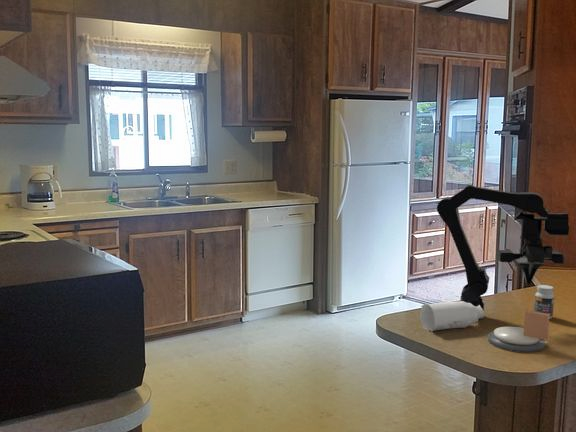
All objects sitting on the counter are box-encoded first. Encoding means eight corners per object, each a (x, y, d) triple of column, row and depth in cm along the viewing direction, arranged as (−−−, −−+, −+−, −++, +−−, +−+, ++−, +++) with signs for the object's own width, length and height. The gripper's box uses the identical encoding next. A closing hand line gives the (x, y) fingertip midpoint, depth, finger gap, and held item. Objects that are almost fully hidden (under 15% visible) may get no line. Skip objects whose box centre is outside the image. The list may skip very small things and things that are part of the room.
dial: (488, 339, 170) (490, 311, 169) (500, 328, 180) (502, 301, 178) (542, 349, 162) (544, 320, 161) (551, 337, 172) (553, 309, 171)
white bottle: (488, 329, 184) (489, 303, 182) (432, 334, 178) (434, 308, 177) (472, 321, 191) (474, 296, 190) (419, 326, 185) (420, 300, 184)
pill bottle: (532, 318, 194) (534, 287, 193) (534, 313, 200) (536, 283, 198) (552, 320, 192) (554, 289, 190) (553, 316, 197) (555, 285, 196)
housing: (494, 351, 165) (495, 346, 165) (483, 332, 180) (483, 328, 179) (552, 353, 163) (553, 348, 163) (536, 335, 178) (536, 330, 178)
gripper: (505, 238, 180) (503, 289, 182) (572, 239, 178) (568, 291, 180) (497, 231, 191) (494, 280, 193) (559, 233, 189) (556, 282, 191)
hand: (528, 284), depth 189 cm, fingers closed
